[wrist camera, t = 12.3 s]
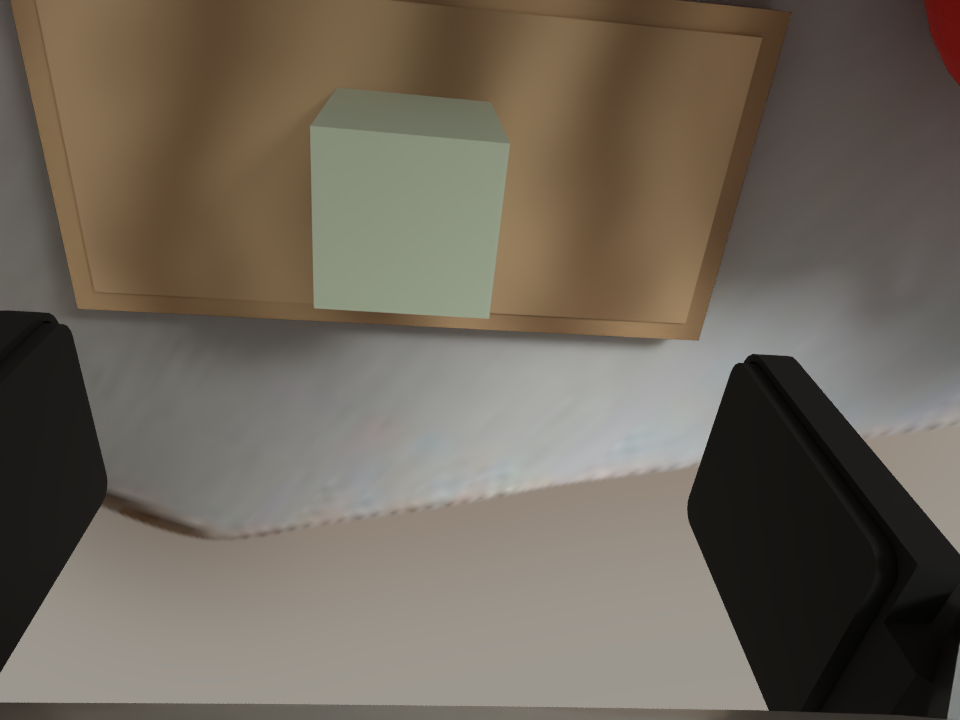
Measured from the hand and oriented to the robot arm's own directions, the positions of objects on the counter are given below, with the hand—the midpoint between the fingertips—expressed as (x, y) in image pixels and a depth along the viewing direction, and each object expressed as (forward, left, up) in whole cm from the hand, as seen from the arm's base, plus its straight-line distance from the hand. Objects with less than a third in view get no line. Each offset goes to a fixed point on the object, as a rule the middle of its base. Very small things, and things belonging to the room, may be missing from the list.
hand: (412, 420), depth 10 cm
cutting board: (0, +1, -17) cm, 17 cm away
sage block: (0, 0, -16) cm, 16 cm away
